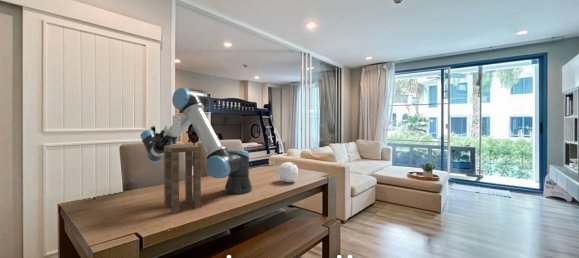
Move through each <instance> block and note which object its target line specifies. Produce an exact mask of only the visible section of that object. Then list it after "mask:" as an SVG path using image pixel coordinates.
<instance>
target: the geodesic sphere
mask: <svg viewBox="0 0 579 258" xmlns="http://www.w3.org/2000/svg"><path fill="white" fill-rule="evenodd" d="M277 174H278V177H279V179H280V180H281V181H282V182H285V183H289V184H290V183H292V182H295V181H296V180H297V179H298V177H299V169H298V165H296V163H295V162H291V161H284V162H283V163H281V165H280V166H279V167H278V172H277Z"/></svg>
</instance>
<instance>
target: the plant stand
mask: <svg viewBox="0 0 579 258" xmlns="http://www.w3.org/2000/svg"><path fill="white" fill-rule="evenodd" d="M201 149H202V148H201V146H200V145H196V144H191V143H188V144H171V145H169V146H164V155H163V171H164V172H163V174H164V175H163V186H164V189H163V190H164V191H163V193H164V196H163V197H164V198H163V199H164V203H163V204H164V206H165V208H167V207H168V208H169V207H170V209H171V210H170V212H171V213H172V214H177V213H180V153H184V168H185V169H184V171H185V172H184V175H185V176H184V177H185V180H184V185H185V186H184V187H185V189H184V190H185V191H184V194H185V196H184V197H185V200H184V202H186V203H192V202H193V205H192V207H193V208H194V209H199V208H201V207H202V198H201V197H202V196H201V195H202V192H201V191H202V189H201V188H202V186H201V185H202V182H201V181H202V175H201V174H202V173H201V171H202V170H201V169H202V167H201V166H202V165H201V163H202V161H201V160H202V159H201V158H202V155H201V154H202V153H201Z"/></svg>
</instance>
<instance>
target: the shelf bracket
mask: <svg viewBox="0 0 579 258" xmlns="http://www.w3.org/2000/svg"><path fill="white" fill-rule="evenodd" d="M172 125H173V131H167V133H166V135H167V136H172V137H178V138H179V137H182V133H181V115H172Z"/></svg>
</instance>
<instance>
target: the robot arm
mask: <svg viewBox="0 0 579 258" xmlns="http://www.w3.org/2000/svg"><path fill="white" fill-rule="evenodd" d="M171 99H172V105H173V107H174V108H176V109H177V110H180V112H181V113H182V114H181V115H180V116H181V134H182V133H183V132H184V131H185V130H187V129H188V127H189V126H190V125H192V127H193V130H194V132H195V133H196V135H197V137H198V139H199V141H200V143H201V145H202V147H203V148H204V150H205V153H206V157H205V159H206V162H205V169H206V171H207V173H208V175H210V177H212V178H214V179H223V178H226V177H227V180H226V182H225V186H224V192H225V193H227V194H231V195H241V194H247V193H249V192H251V191H252V189H253V185H252V182H251V180H250V163H249V162H250V154H249V151H248V150H240V149H239V150H237V149H236V150H235V149H229V150H228V148H227V147H226V146H223V144H222V143H221V141H220V139H219V138H218V136H217V134H216V132H215V130H214V128H213V126H212V124H211V123H210V121H209V119H208V117H207V115H206V112H207V110H208V109H209V107H210V104H211V99H210V96H209V94H208V93H207V92H205V90H204V91H203V90H201V89H196V88H195V89H194V88H190V87H189V88H188V87H179V88H177V89H176V90H175V91H174V92H173V94H172V98H171ZM167 131H173V124H172V125H171V126H169V127H168V126H167V125H165V126H164V128H163V129H162V130H161V131H160V132H155V131H154V130H153V129H147V130H144V131H142V132H141V133H140V138H141V142H142V143H143V146H144V147H145V150H146V152H147V161H148V162H150V163H152V164H156V163H159V162H160V161H162V159H163V158H164V146H169V145H177V144H176V143H177V142H178V140H179V137H172V136H167V135H166V133H167Z"/></svg>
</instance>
